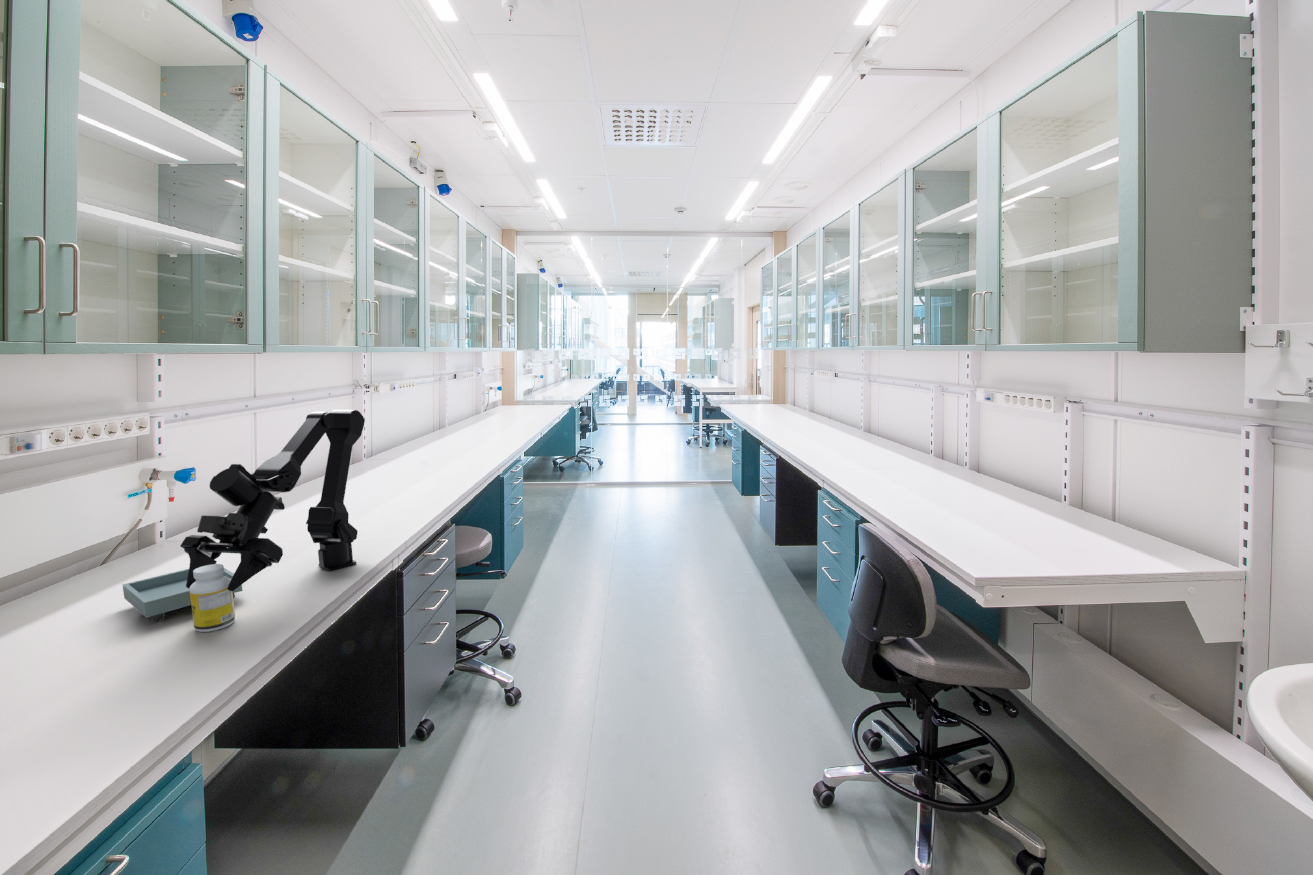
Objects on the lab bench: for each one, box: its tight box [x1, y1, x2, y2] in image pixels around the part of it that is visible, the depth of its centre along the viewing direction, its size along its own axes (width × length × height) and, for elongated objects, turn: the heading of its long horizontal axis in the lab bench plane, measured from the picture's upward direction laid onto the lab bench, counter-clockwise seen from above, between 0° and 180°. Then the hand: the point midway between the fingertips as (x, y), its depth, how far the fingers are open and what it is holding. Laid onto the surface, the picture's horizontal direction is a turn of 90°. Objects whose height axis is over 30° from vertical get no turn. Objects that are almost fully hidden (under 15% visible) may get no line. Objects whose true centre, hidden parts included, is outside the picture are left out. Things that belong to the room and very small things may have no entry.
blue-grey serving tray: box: [121, 567, 243, 623], centre depth 124 cm, size 16×16×5 cm
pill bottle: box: [189, 563, 236, 633], centre depth 113 cm, size 6×6×12 cm
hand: (208, 589), depth 112 cm, fingers open, 9 cm apart
